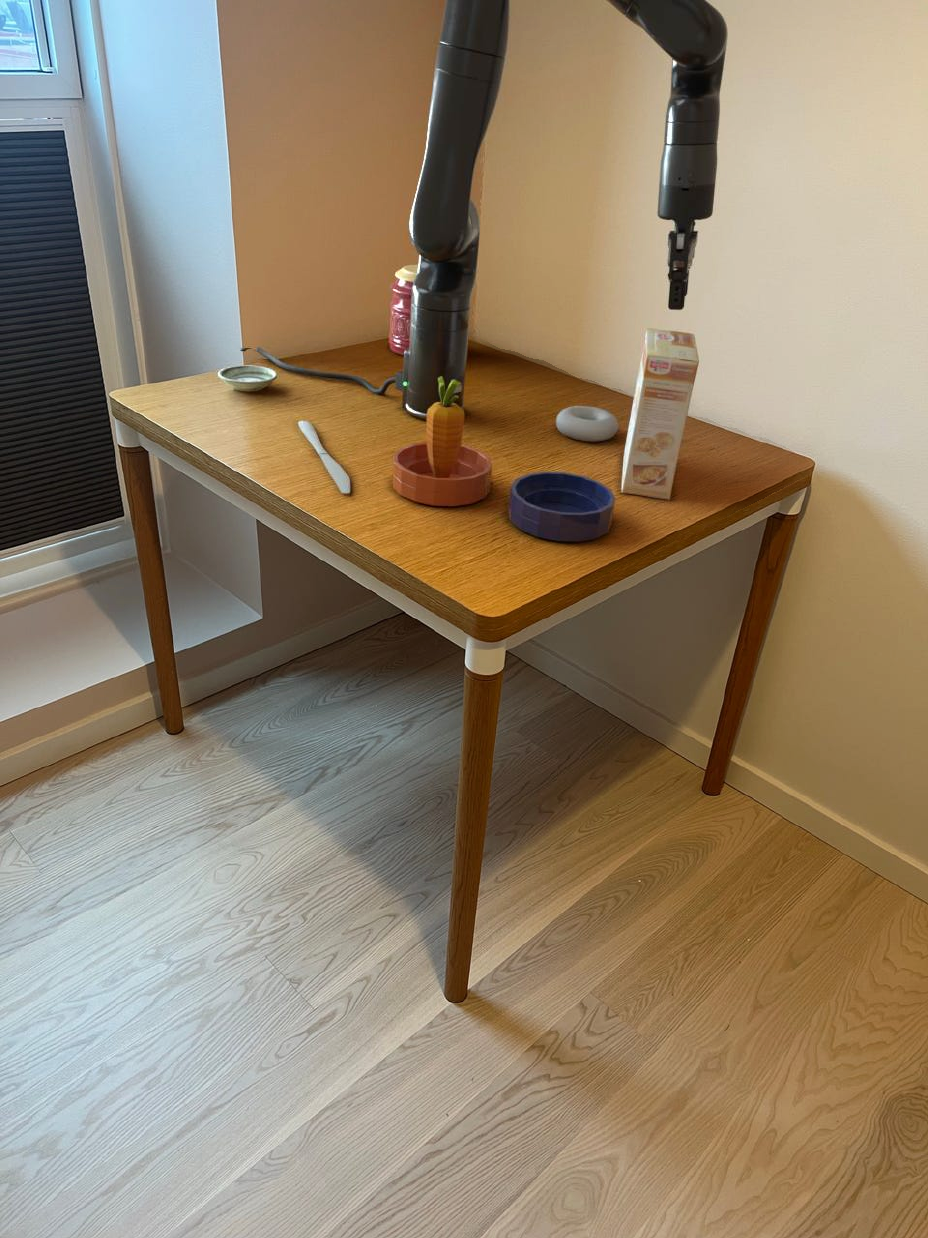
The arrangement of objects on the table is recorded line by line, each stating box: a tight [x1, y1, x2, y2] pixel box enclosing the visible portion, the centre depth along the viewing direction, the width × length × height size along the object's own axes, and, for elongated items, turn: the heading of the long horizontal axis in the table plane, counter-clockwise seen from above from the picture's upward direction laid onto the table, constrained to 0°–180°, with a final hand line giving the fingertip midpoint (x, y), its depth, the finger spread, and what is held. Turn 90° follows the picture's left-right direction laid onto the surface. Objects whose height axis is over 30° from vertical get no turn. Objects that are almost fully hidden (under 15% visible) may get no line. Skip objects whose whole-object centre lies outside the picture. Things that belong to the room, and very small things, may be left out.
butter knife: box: [297, 420, 351, 495], centre depth 131 cm, size 1×27×3 cm
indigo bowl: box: [507, 471, 616, 543], centre depth 118 cm, size 13×13×4 cm
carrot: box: [425, 376, 466, 478], centre depth 121 cm, size 5×5×15 cm
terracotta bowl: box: [392, 441, 493, 507], centre depth 124 cm, size 13×13×4 cm
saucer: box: [217, 364, 278, 392], centre depth 154 cm, size 10×10×2 cm
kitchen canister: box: [388, 263, 419, 356], centre depth 176 cm, size 13×13×18 cm
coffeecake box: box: [620, 327, 700, 500], centre depth 128 cm, size 15×7×20 cm, turn 170°
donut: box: [555, 405, 619, 443], centre depth 146 cm, size 10×4×10 cm
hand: (677, 302), depth 134 cm, fingers open, 8 cm apart
